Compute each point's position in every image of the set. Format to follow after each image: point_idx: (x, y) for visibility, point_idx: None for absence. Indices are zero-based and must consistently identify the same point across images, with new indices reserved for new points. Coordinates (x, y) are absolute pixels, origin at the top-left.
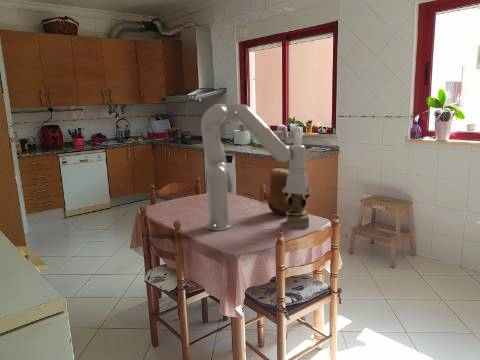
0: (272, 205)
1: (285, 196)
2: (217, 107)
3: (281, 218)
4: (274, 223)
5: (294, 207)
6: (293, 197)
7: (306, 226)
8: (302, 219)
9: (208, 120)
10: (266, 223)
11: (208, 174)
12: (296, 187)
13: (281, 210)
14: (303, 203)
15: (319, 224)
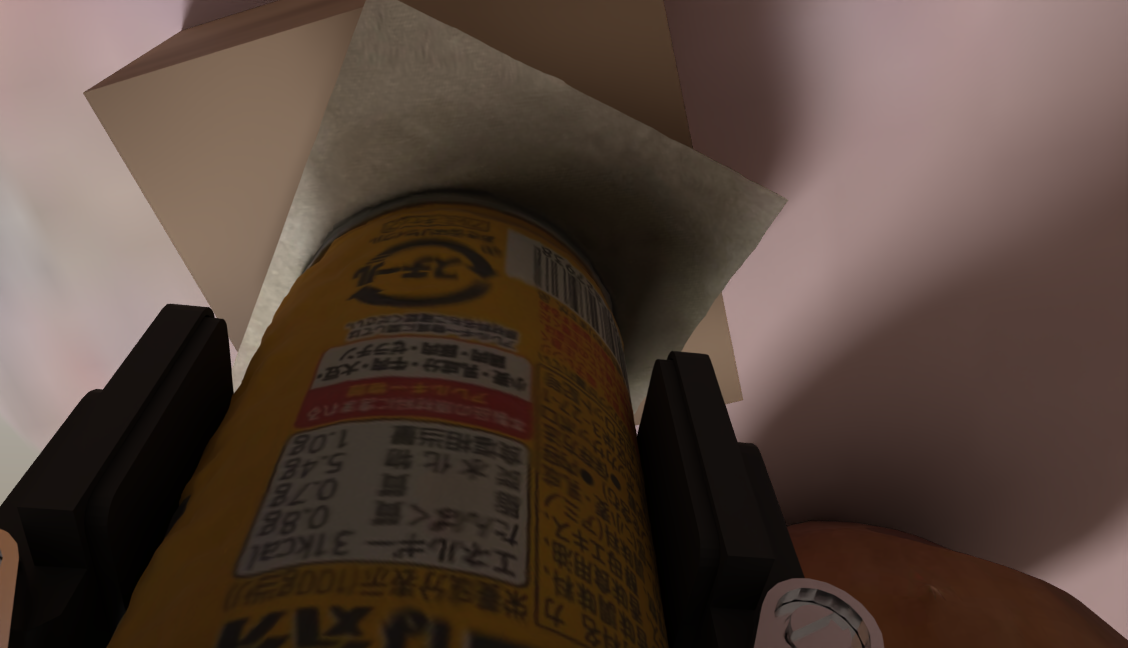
0: (1076, 610)
1: None
2: None
3: (808, 396)
4: (937, 112)
5: (496, 280)
6: (543, 586)
7: (218, 20)
8: (254, 32)
9: None
10: (1109, 72)
11: None
12: None
13: (852, 532)
14: (102, 396)
15: (58, 259)
